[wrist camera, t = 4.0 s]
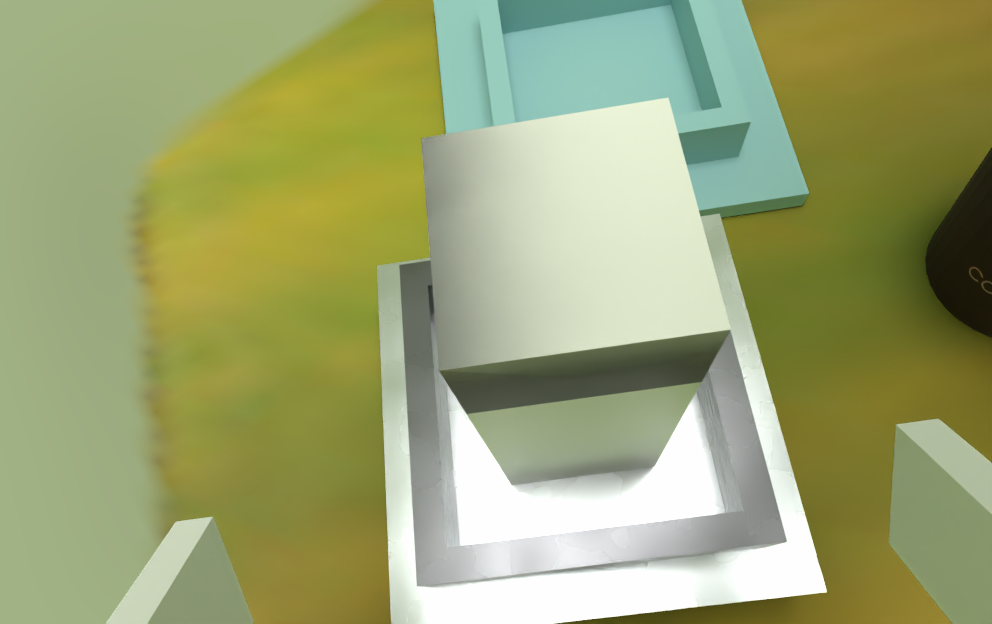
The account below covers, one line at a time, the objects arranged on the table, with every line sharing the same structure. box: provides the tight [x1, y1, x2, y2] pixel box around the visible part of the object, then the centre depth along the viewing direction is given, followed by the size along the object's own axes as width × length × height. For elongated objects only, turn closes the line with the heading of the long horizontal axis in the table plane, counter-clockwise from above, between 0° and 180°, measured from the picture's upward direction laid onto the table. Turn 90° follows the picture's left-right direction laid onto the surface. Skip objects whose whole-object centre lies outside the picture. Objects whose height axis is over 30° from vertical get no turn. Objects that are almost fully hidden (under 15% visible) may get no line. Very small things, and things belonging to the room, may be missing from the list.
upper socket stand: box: [377, 214, 827, 624], centre depth 25 cm, size 14×14×6 cm
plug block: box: [421, 98, 731, 485], centre depth 18 cm, size 5×5×13 cm
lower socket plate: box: [434, 0, 809, 218], centre depth 33 cm, size 16×16×4 cm
